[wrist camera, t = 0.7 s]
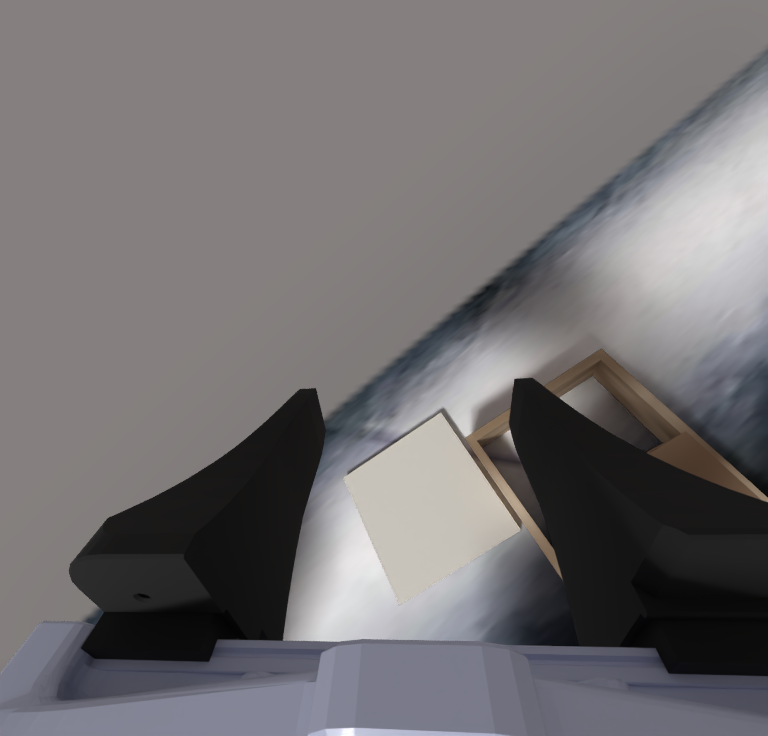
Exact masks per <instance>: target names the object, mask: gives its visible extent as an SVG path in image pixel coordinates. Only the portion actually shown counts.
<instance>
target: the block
mask: <svg viewBox="0 0 768 736" xmlns="http://www.w3.org/2000/svg"><path fill="white" fill-rule="evenodd" d="M646 453H648V454H650V455H652V456H654V457H656V458H658V459H660V460H662V461H664V462H666V463H668V464H671V465H673V466H675V467H677V468H679V469H682V470H684V471H686V472H689V473H691V474H693V475H696V476H698V477H701V478H703V479H706V480H708V481H711V482H713V483H716V484H718V485H721V486H723V487H726V488H728V489H731V490H734V491H737V492H740V493H743V494H745V495H748V496H751V497H754V498H757V499H760V498H759V497H758V496H757V495H756V494H754V493H753V492H752V491H751V490H750V489H749V488H748V487H747V486H746V485H745V484H743V483H742V482H741V481H740V480H739V479H738V478H737V477H736V476H735V475H734V474H732V473H731V472H730V471H729V470H728V469H727V468H726V467H725V466H724V465H723V464H721V463H720V462H719V461H718V460H717V459H716V458H715V457H714V456H713V455H712V454H710V453H709V452H708V451H707V450H706V449H705V448H704V447H703V446H702V445H700V444H699V443H698V442H697V441H696V440H695V439H694V438H693V437H692V436H691V435H689V434H688V433H687V432H686V431H685V432H683V433H681V434H679V435H678V436H676V437H674V438H672V439H670V440H668V441H666V442H664V443H662V444H660V445H659V446H657V447H655V448H653V449H651V450H649V451H647V452H646ZM760 500H761V499H760Z"/></svg>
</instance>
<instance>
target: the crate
mask: <svg viewBox="0 0 768 736" xmlns="http://www.w3.org/2000/svg"><path fill="white" fill-rule="evenodd" d="M591 376H594V377H595V378H596V379H597V380H598V381H599V382H600V383H601V384H602V385H603V386H604V387H605V388H606V389H607V390H608V391H609V392H610V393H611V394H612V395H613V396H614V397H615V398H616V399H617V400H618V401H619V402H621V403H622V404H623V405H624V406H625V407H626V408H627V409H628V410H629V411H630V412H631V413H632V414H633V415H634V416H635V417H636V418H637V419H638V420H639V421H640V422H641V423H642V424H643V425H644V426H645V427H646V428H647V429H648V430H650V431H651V432H652V433H653V434H654V435H655V436H656V437H657V438H658V439H659V440H660V441H661V442H662V443H664V442H666V441H668V440H670V439H672V438H674V437H676V436H678V435H679V434H681V433H683V432H685V431H686V432H687V433H688V434H689V435H691V436H692V437H693V438H694V439H695V440H696V441H697V442H698V443H699V444H700V445H702V446H703V447H704V448H705V449H706V450H707V451H708V452H709V453H710V454H712V455H713V456H714V457H715V458H716V459H717V460H718V461H719V462H720V463H721V464H723V465H724V466H725V467H726V468H727V469H728V470H729V471H730V472H731V473H732V474H734V475H735V476H736V477H737V478H738V479H739V480H740V481H741V482H742V483H743V484H745V485H746V486H747V487H748V488H749V489H750V490H751V491H752V492H753V493H754V494H756V495H757V496H758V497H759V498H760V499H761V500H763V501H766V502H768V497H766V496H765V495H764V494H763V493H762V492H761V491H760V490H759V489H758V488H756V487H755V486H754V485H753V484H752V483H751V482H750V481H749V480H747V479H746V478H745V477H744V476H743V475H742V474H741V473H740V472H739V471H737V470H736V469H735V468H734V467H733V466H732V465H731V464H730V463H729V462H727V461H726V460H725V459H724V458H723V457H722V456H721V455H720V454H718V453H717V452H716V451H715V450H714V449H713V448H712V447H711V446H710V445H708V444H707V443H706V442H705V441H704V440H703V439H702V438H701V437H700V436H698V435H697V434H696V433H695V432H694V431H693V430H692V429H691V428H690V427H688V426H687V425H686V424H685V423H684V422H683V421H682V420H681V419H679V418H678V417H677V416H676V415H675V414H674V413H673V412H672V411H671V410H669V409H668V408H667V407H666V406H665V405H664V404H663V403H662V402H661V401H659V400H658V399H657V398H656V397H655V396H654V395H653V394H652V393H650V392H649V391H648V390H647V389H646V388H645V387H644V386H643V385H642V384H640V383H639V382H638V381H637V380H636V379H635V378H634V377H633V376H632V375H630V374H629V373H628V372H627V371H626V370H625V369H624V368H623V367H621V366H620V365H619V364H618V363H617V362H616V361H615V360H614V359H613V358H611V357H610V356H609V355H608V354H607V353H606V352H605V351H604V350H603V349H600V350H598V351H597V352H595V353H594V354H592V355H591V356H589V357H588V358H586V359H585V360H583V361H582V362H580V363H578V364H577V365H575V366H574V367H572V368H571V369H569V370H568V371H566V372H565V373H563V374H562V375H560V376H559V377H557V378H556V379H554V380H553V381H551V382H550V383H548V384H547V385H545V386H544V387H545V388H547V389H548V390H549V391H551V392H552V393H553V394H554V395H556V396H557V397H558V398H559V397H560V396H562V395H563V394H565V393H567V392H568V391H570V390H571V389H573V388H574V387H576V386H577V385H579V384H580V383H582V382H583V381H585V380H587V379H588V378H590V377H591ZM510 409H511V408H510ZM510 409H508V410H507V411H505V412H504V413H502V414H501V415H499V416H498V417H496V418H495V419H493V420H492V421H490V422H489V423H487V424H486V425H484V426H483V427H481V428H480V429H478V430H477V431H475V432H474V433H472V434H470V435H469V436H467V437H466V438H465V440H466V441H467V442H468V444H469V445H470V447H471V448H472V450H473V451H474V453H475V454H476V455H477V457H478V458H479V460H480V461H481V463H482V464H483V466H484V467H485V468H486V470H487V471H488V473H489V474H490V476H491V477H492V479H493V480H494V482H495V483H496V484H497V486H498V487H499V489H500V490H501V492H502V493H503V495H504V496H505V497H506V499H507V500H508V502H509V503H510V505H511V506H512V508H513V509H514V510H515V512H516V513H517V515H518V516H519V518H520V519H521V521H522V522H523V524H524V525H525V526H526V528H527V529H528V531H529V532H530V534H531V535H532V537H533V538H534V539H535V541H536V542H537V544H538V545H539V547H540V548H541V550H542V551H543V552H544V554H545V555H546V557H547V558H548V560H549V561H550V563H551V564H552V566H553V567H554V568H555V570H556V571H557V573H558V574H559V576H560V577H561V579H562V575H561V572H560V568H559V565H558V562H557V558H556V555H555V551H554V549H553V548H552V546H551V545H550V543H549V542H548V541H547V539H546V538H545V536H544V535H543V533H542V532H541V531H540V529H539V528H538V526H537V525H536V524H535V522H534V521H533V519H532V518H531V517H530V515H529V514H528V512H527V511H526V510H525V508H524V507H523V505H522V504H521V502H520V501H519V500H518V498H517V497H516V495H515V494H514V493H513V491H512V490H511V488H510V487H509V486H508V484H507V483H506V481H505V480H504V478H503V477H502V476H501V474H500V473H499V471H498V470H497V469H496V467H495V466H494V464H493V463H492V462H491V460H490V459H489V457H488V456H487V455H486V453H485V452H484V450H483V449H482V447H484V446H485V445H487V444H488V443H490V442H491V441H493V440H494V439H496V438H497V437H499V436H501V435H502V434H504V433H505V432H507V431H508V430H510V427H509V417H510ZM562 580H563V579H562Z"/></svg>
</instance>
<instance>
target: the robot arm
mask: <svg viewBox="0 0 768 736" xmlns="http://www.w3.org/2000/svg"><path fill="white" fill-rule="evenodd" d="M509 427H510V430H511V434H512V438H513V441H514V445H515V448H516V451H517V453H518V456H519V458H520V460H521V463H522V465H523V467H524V470H525V472H526V474H527V477H528V479H529V481H530V484H531V486H532V488H533V491H534V493H535V495H536V498H537V500H538V502H539V505H540V507H541V510H542V513H543V515H544V518H545V522H546V525H547V528H548V531H549V535H550V538H551V541H552V544H553V548H554V551H555V555H556V558H557V562H558V565H559V568H560V572H561V575H562V579H563V583H564V587H565V591H566V594H567V598H568V602H569V606H570V609H571V613H572V617H573V622H574V626H575V630H576V634H577V638H578V642H579V646H580V647H576V646H525V645H502V644H495V643H487V642H478V641H425V640H371V639H361V640H351V641H341V642H320V641H283V633H284V626H285V618H286V611H287V604H288V597H289V591H290V584H291V578H292V572H293V566H294V561H295V555H296V549H297V544H298V539H299V534H300V529H301V524H302V519H303V515H304V511H305V507H306V504H307V501H308V498H309V494H310V491H311V488H312V485H313V482H314V478H315V475H316V472H317V469H318V465H319V462H320V459H321V455H322V450H323V445H324V438H325V432H326V429H325V424H324V420H323V416H322V412H321V408H320V404H319V399H318V395H317V391H316V388H314V389H313V388H312V389H300V390H299V391H297V392H296V393H295V394H294V395H293V396H292V397H291V398H290V399H289V400H288V401H287V402H286V403H285V404H284V405H283V406H282V407H281V408H280V409H279V410H278V411H276V412H275V413H274V414H273V415H272V416H271V417H270V418H269V419H268V420H267V421H266V422H265V423H264V424H263V425H261V426H260V427H259V428H258V429H257V430H255V431H254V432H253V433H252V434H251V435H250V436H248V437H247V438H246V439H245V440H244V441H242V442H241V443H240V444H239V445H237V446H236V447H235V448H234V449H232V450H231V451H229V452H228V453H227V454H225V455H224V456H223V457H221V458H219V459H218V460H217V461H215V462H214V463H212V464H210V465H209V466H207V467H206V468H204V469H202V470H201V471H199V472H198V473H196V474H195V475H193V476H191V477H190V478H188V479H186V480H185V481H183V482H181V483H179V484H177V485H176V486H174V487H172V488H170V489H168V490H166V491H164V492H162V493H161V494H159V495H157V496H155V497H153V498H151V499H149V500H147V501H144V502H143V503H140V504H138V505H136V506H134V507H132V508H129V509H127V510H125V511H123V512H121V513H118V514H116V515H114V516H112V517H109V518H108V519H107V520H106V521H105V522H104V523H103V525H102V526H101V527H100V528H99V530H98V531H97V532H96V533H95V534H94V536H93V537H92V538H91V539H90V541H89V542H88V543H87V545H86V546H85V547H84V548H83V549H82V550H81V552H80V553H79V554H78V555H77V557H76V558H75V559H74V560H73V562H72V563H71V564H70V568H69V574H70V577H71V580H72V582H73V583H74V584H75V585H76V586H77V587H78V588H79V590H81V591H82V592H83V593H84V594H85V595H86V596H87V597H88V598H89V599H91V600H92V601H93V602H94V603H95V604H96V605H97V606H98V607H99V608H101V609H102V610H103V611H104V613H103V615H102V617H101V618H100V620H99V621H98V623H97V624H96V626H94V625H92V624H89V623H86V622H72V621H70V622H69V621H67V622H65V621H44V622H41V623H39V624H38V625H37V627H36V628H35V629H34V631H33V632H32V633H31V635H30V636H29V637H28V638H27V640H26V641H25V642H24V643H23V645H22V646H21V647H20V649H19V650H18V651H17V653H16V654H15V655H14V656H13V657H12V659H11V660H10V661H9V663H8V664H7V665H6V666H5V668H4V669H3V670H2V672H1V673H0V736H768V502H766V501H763V500H760V499H757V498H754V497H751V496H748V495H745V494H743V493H740V492H737V491H734V490H731V489H728V488H726V487H723V486H721V485H718V484H716V483H713V482H711V481H708V480H706V479H703V478H701V477H698V476H696V475H693V474H691V473H689V472H686V471H684V470H682V469H679V468H677V467H675V466H673V465H671V464H668V463H666V462H664V461H662V460H660V459H658V458H656V457H654V456H652V455H650V454H648V453H646V452H644V451H642V450H640V449H638V448H636V447H634V446H632V445H631V444H629V443H627V442H625V441H623V440H622V439H620V438H618V437H616V436H614V435H613V434H611V433H609V432H608V431H606V430H605V429H603V428H601V427H600V426H598V425H597V424H595V423H594V422H592V421H591V420H589V419H588V418H586V417H585V416H583V415H582V414H580V413H579V412H577V411H576V410H575V409H573V408H572V407H571V406H569V405H568V404H566V403H565V402H564V401H562V400H561V399H560V398H558V397H557V396H556V395H554V394H553V393H552V392H551V391H549V390H548V389H547V388H545V387H544V386H543V385H541V384H540V383H539V382H537V381H536V380H535V379H533V378H523V379H514V387H513V394H512V402H511V409H510V417H509Z"/></svg>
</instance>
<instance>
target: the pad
mask: <svg viewBox="0 0 768 736" xmlns="http://www.w3.org/2000/svg"><path fill="white" fill-rule="evenodd" d="M343 479H344V481H345V483H346V485H347V488H348V490H349V492H350V495H351V497H352V499H353V501H354V504H355V506H356V508H357V510H358V513H359V515H360V517H361V519H362V522H363V524H364V526H365V528H366V531H367V533H368V535H369V538H370V540H371V542H372V544H373V547H374V549H375V551H376V553H377V556H378V558H379V560H380V562H381V565H382V567H383V569H384V572H385V574H386V576H387V578H388V581H389V583H390V585H391V587H392V590H393V592H394V594H395V596H396V599H397V601H398V603H399V606H400V605H401V604H403V603H405V602H406V601H408V600H409V599H411V598H413V597H414V596H416V595H418V594H419V593H421V592H422V591H424V590H426V589H427V588H429V587H430V586H432V585H434V584H435V583H437V582H438V581H440V580H442V579H443V578H445V577H447V576H448V575H450V574H451V573H453V572H455V571H456V570H458V569H459V568H461V567H463V566H464V565H466V564H467V563H469V562H471V561H472V560H474V559H476V558H477V557H479V556H480V555H482V554H484V553H485V552H487V551H488V550H490V549H492V548H493V547H495V546H496V545H498V544H500V543H501V542H503V541H505V540H506V539H508V538H509V537H511V536H513V535H514V534H516V533H517V532H519V531H521V529H520V528H519V526H518V525H517V523H516V522H515V520H514V519H513V517H512V516H511V514H510V513H509V511H508V510H507V508H506V507H505V505H504V504H503V503H502V501H501V500H500V498H499V497H498V495H497V494H496V492H495V491H494V489H493V488H492V486H491V485H490V483H489V482H488V480H487V479H486V478H485V476H484V475H483V473H482V472H481V470H480V469H479V467H478V466H477V464H476V463H475V461H474V460H473V458H472V457H471V455H470V454H469V453H468V451H467V450H466V448H465V447H464V445H463V444H462V442H461V441H460V439H459V438H458V436H457V435H456V433H455V432H454V430H453V429H452V428H451V426H450V425H449V423H448V422H447V420H446V419H445V417H444V416H443V414H442V413H439V414H438V415H436V416H435V417H433V418H432V419H430V420H429V421H427V422H426V423H424V424H423V425H421V426H420V427H418V428H417V429H415V430H414V431H412V432H411V433H409V434H408V435H406V436H405V437H403V438H402V439H400V440H399V441H398V442H396V443H395V444H393V445H392V446H390V447H389V448H387V449H386V450H384V451H383V452H381V453H380V454H378V455H377V456H375V457H374V458H372V459H371V460H369V461H368V462H366V463H365V464H363V465H362V466H360V467H359V468H357V469H356V470H354V471H353V472H351V473H350V474H348V475H347V476H345V477H344V478H343Z"/></svg>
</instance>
